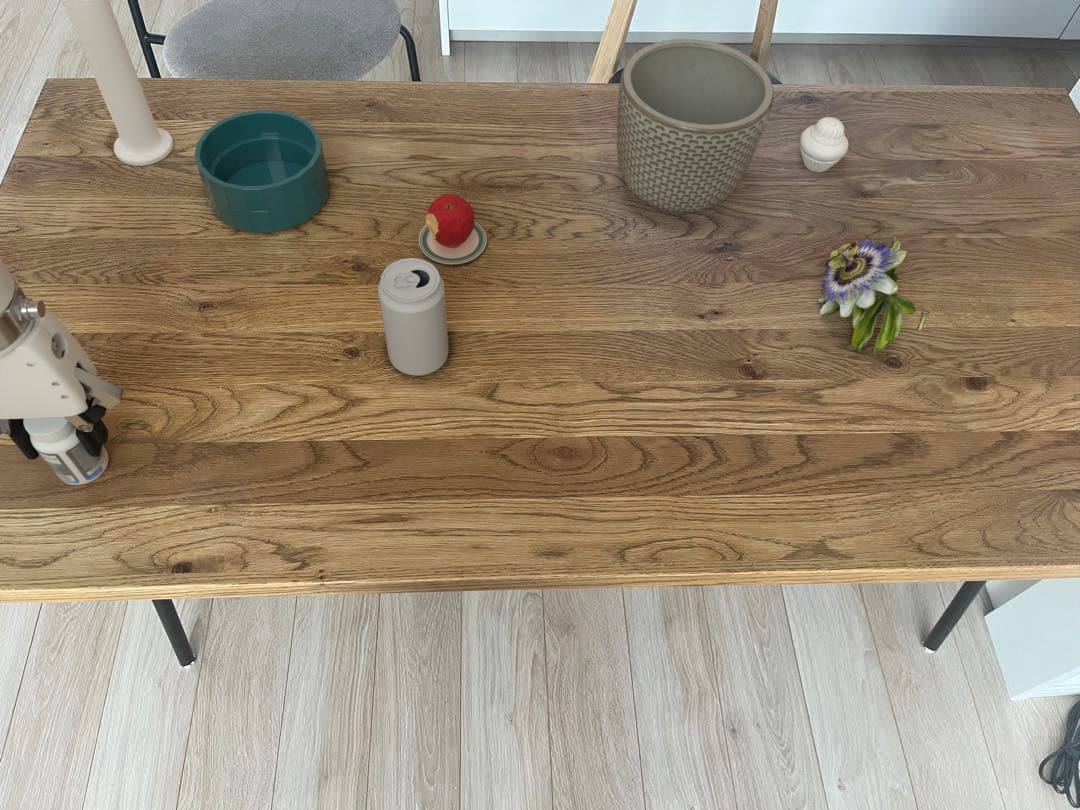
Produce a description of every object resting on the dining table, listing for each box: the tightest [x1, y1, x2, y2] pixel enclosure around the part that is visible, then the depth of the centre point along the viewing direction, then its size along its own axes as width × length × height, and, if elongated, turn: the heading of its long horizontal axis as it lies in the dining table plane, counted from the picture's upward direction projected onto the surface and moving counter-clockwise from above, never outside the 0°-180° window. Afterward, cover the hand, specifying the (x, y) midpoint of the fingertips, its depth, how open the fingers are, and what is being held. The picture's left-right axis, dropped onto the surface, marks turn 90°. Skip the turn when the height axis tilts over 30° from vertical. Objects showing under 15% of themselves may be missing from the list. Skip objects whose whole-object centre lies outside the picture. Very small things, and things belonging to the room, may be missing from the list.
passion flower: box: [816, 235, 930, 354], centre depth 96 cm, size 11×11×12 cm
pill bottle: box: [23, 417, 109, 486], centre depth 80 cm, size 5×5×8 cm
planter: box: [616, 38, 775, 216], centre depth 103 cm, size 17×17×16 cm
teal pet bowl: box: [193, 109, 330, 233], centre depth 103 cm, size 14×14×7 cm
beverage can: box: [377, 257, 450, 376], centre depth 88 cm, size 6×6×12 cm
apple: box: [418, 193, 487, 265], centre depth 100 cm, size 8×8×6 cm
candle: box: [61, 0, 174, 167], centre depth 100 cm, size 7×7×25 cm
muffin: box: [799, 116, 849, 173], centre depth 112 cm, size 6×6×7 cm
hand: (67, 443), depth 80 cm, fingers closed on pill bottle, 4 cm apart
